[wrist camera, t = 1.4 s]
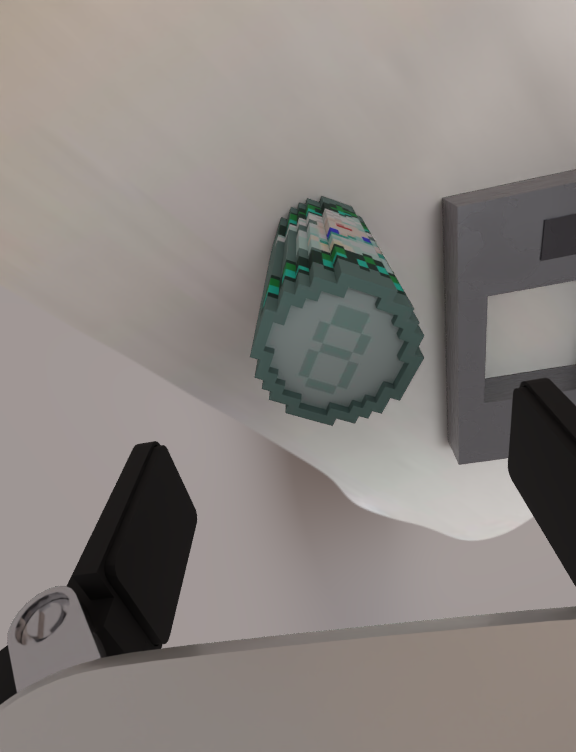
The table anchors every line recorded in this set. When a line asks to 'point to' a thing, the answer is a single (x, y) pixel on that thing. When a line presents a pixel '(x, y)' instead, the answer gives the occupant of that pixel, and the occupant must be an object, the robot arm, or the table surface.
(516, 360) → the table surface
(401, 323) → the can
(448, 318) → the rail plate
